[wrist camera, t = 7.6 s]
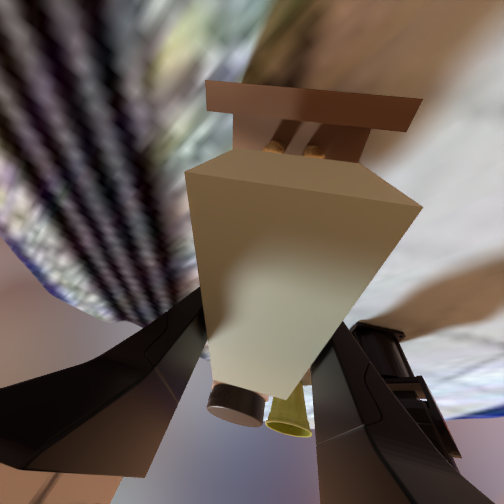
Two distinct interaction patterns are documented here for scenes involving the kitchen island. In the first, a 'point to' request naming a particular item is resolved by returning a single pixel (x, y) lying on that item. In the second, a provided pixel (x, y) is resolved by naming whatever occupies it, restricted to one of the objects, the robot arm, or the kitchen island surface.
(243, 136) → the shelf frame
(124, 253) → the kitchen island surface
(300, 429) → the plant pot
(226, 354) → the beige rectangular block
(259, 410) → the jar
